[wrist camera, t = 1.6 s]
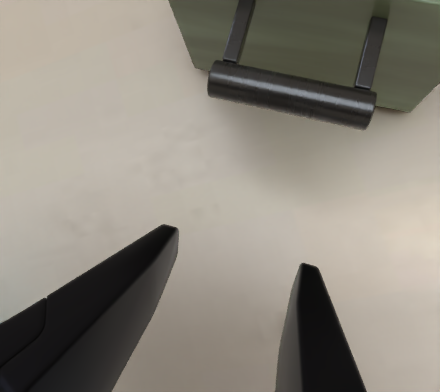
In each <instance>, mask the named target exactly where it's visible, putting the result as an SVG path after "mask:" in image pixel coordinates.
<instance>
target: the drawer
mask: <svg viewBox="0 0 440 392" xmlns="http://www.w3.org/2000/svg"><path fill="white" fill-rule="evenodd" d="M168 1H169V3H170V6H171V8H172V11H173V13H174V16H175V18H176V21H177V24H178V26H179V29H180V31H181V34H182V36H183V39H184V41H185V44H186V46H187V49H188V52H189V54H190V57H191V59H192V62H193V64H194V67H195V68H198V69H203V70H208V71H210V73H209V77H208V85H207V91H208V95H209V96H210V97H213V98H217V99H222V100H226V101H231V102H235V103H240V104H245V105H249V106H254V107H258V108H263V109H267V110H272V111H277V112H281V113H286V114H290V115H295V116H299V117H304V118H309V119H313V120H318V121H322V122H327V123H331V124H336V125H340V126H345V127H350V128H354V129H359V130H366V129H367V127H368V125H369V123H370V121H371V118H372V115H373V112H374V109H375V105H376V106H381V107H386V108H391V109H396V110H400V111H405V112H411V111H412V110H413V109H414V108H415V107H416V106H417V105H418V104H419V103H420V102H421V101H422V100H423V99H424V98H425V97H426V96H427V95H428V94H429V93H430V92H431V91H432V90H433V89H434V88H435V87H436V86H437V85H438V84H439V83H440V0H168Z"/></svg>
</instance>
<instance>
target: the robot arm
mask: <svg viewBox="0 0 440 392" xmlns="http://www.w3.org/2000/svg"><path fill="white" fill-rule="evenodd" d="M178 240H179V230H178V228H176V227H173V226H169V225H166V224H163V225H161V226H159V227H157V228H156V229H154V230H152V231H151V232H149V233H148V234H146V235H144V236H143V237H141V238H140V239H138V240H136V241H135V242H133V243H132V244H130V245H128V246H127V247H125V248H124V249H122V250H120V251H119V252H117V253H116V254H114V255H112V256H111V257H109V258H107V259H106V260H104V261H103V262H101V263H99V264H98V265H96V266H95V267H93V268H91V269H90V270H88V271H87V272H85V273H83V274H82V275H80V276H79V277H77V278H75V279H74V280H72V281H70V282H69V283H67V284H66V285H64V286H62V287H61V288H59V289H58V290H56V291H54V292H53V293H51V294H50V295H48V296H47V299H46V298H43V299H41V300H40V301H38V302H37V303H35V304H33V305H32V306H30V307H28V308H27V309H25V310H23V311H22V312H20V313H18V314H17V315H15V316H13V317H11V318H10V319H8V320H6V321H4V322H3V323H1V324H0V392H112V390H113V388H114V386H115V384H116V382H117V380H118V379H119V377H120V375H121V373H122V371H123V369H124V368H125V366H126V364H127V362H128V360H129V358H130V357H131V355H132V353H133V351H134V349H135V347H136V346H137V344H138V342H139V340H140V338H141V336H142V335H143V333H144V331H145V329H146V327H147V325H148V324H149V322H150V320H151V318H152V316H153V314H154V312H155V310H156V307H157V305H158V303H159V300H160V298H161V295H162V293H163V290H164V288H165V285H166V283H167V280H168V278H169V275H170V273H171V270H172V268H173V265H174V263H175V260H176V257H177V253H178ZM275 392H367V391H366V388H365V386H364V383H363V381H362V378H361V375H360V373H359V370H358V368H357V365H356V363H355V360H354V358H353V355H352V353H351V350H350V347H349V345H348V342H347V340H346V337H345V335H344V332H343V330H342V327H341V324H340V322H339V319H338V317H337V314H336V312H335V309H334V307H333V304H332V301H331V299H330V296H329V294H328V291H327V289H326V286H325V284H324V281H323V278H322V276H321V273H320V271H319V269H318V268H317V267H316V266H313V265H309V264H306V263H301V264H300V266H299V269H298V272H297V275H296V278H295V281H294V284H293V287H292V290H291V295H290V300H289V304H288V309H287V314H286V318H285V323H284V327H283V332H282V337H281V342H280V347H279V355H278V364H277V376H276V388H275Z"/></svg>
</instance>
